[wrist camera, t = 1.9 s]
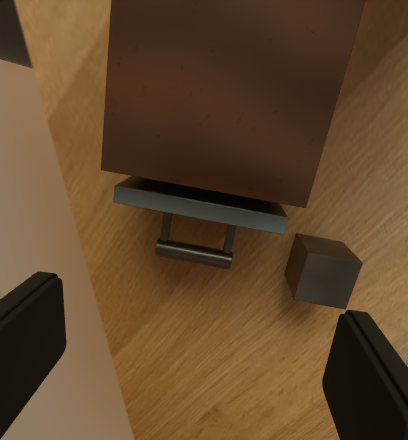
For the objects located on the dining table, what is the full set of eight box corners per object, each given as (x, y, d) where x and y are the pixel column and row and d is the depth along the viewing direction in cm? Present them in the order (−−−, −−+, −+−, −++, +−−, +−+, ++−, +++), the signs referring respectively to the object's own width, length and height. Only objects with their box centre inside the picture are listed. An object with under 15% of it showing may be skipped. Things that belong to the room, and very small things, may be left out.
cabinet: (281, 180, 27) (306, 208, 18) (142, 155, 27) (100, 170, 18) (330, -14, 22) (396, -103, 13) (162, -42, 22) (119, -147, 14)
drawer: (258, 254, 28) (267, 297, 21) (138, 231, 28) (108, 266, 21) (313, 32, 22) (351, -10, 15) (162, 6, 23) (132, -46, 16)
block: (284, 274, 29) (293, 299, 25) (296, 233, 28) (307, 252, 24) (329, 283, 29) (345, 309, 25) (343, 241, 28) (363, 262, 24)
